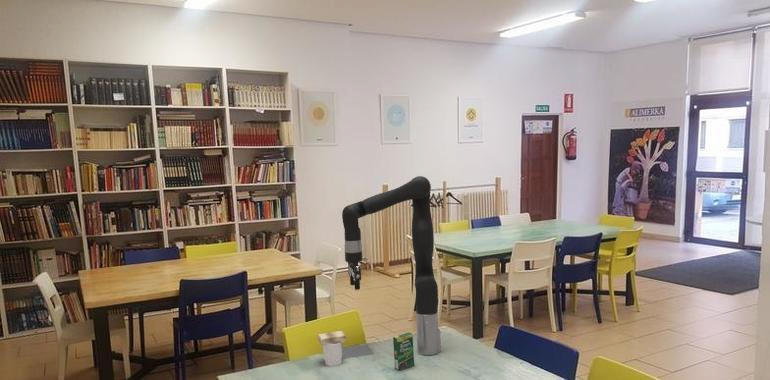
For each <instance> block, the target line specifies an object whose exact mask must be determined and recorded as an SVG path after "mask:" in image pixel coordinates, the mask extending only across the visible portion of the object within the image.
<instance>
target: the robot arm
mask: <svg viewBox="0 0 770 380" xmlns="http://www.w3.org/2000/svg"><path fill="white" fill-rule="evenodd" d="M430 182H431V181H429V179H428V178H427V177H425V176H421V175H418V176H415V177H413V178H411V180H409V181H407V182H406V183H404V184H402V185H400V186H399V187H396V188H394V189H391V190H388V191H384V192H381V193H378V194H375V195H373V196H369V197H367V198H365V199H363V200H361V201H357V202H353V203H350V204H349V205H346V206H345V207H343V209H342V213H341V216H342V217H341V219H342V225H343V229H344V261H345V262H346V263H347V268H348V269H347V274H348V276H349V284H350V286H354V291H359V290H360V289H361V280H362V269H361V265H359V262H362V261H363V244H362V232H361V227H360V225H359V219H360V218H361V219H362V218H363V217H366V216H368V215H373V214H375V213H378V212H381V211H383V210H386V209H388V208H391V207H392V206H395V205H398V204H401V203H403V202H404V203H405V202H407V201H412V219H411V220H412V221H411V242H412V250H413V256H414V262H415V269H414V270H415V272H414V273H415V274H414V275H415V277H414V288H415V301H416V302H415V316H416V335H417V336H416V337H417V339H416V341H417V342H416V343H417V353H418V354H419V355H423V356H433V355H437V354H439V353H441V352H442V345H441V330H440V328H439V313H438V312H439V309H438V307H439V290H438V289H439V288H438V287H439V286H438V282H437V281H436V279H435V273H434V267H433V256H434V255H433V254H434V247H435V246H434V245H435V241H434V240H435V238H434V236H435V235H434V226H433V219H432V213H431V212H432V211H431V190H432V189H431V188H432V184H431V183H430Z"/></svg>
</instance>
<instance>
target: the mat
mask: <svg viewBox="0 0 770 380" xmlns="http://www.w3.org/2000/svg"><path fill="white" fill-rule="evenodd" d="M370 355H371V356H372V355H375V353H374V351H373V350H372V349H371V348H370V346H369V345H368V344H361V345H353V346H347V347H342V360H346V359H351V358H358V357H365V356H370Z"/></svg>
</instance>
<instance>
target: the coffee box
mask: <svg viewBox="0 0 770 380" xmlns="http://www.w3.org/2000/svg"><path fill="white" fill-rule="evenodd" d="M392 341H393V343H392V344H393V356H394V357H393V358H394V359H393V360H394V370H397V371H398V372H400V371H401V370H405V369H407V368H411V367H413V366H415V355H414V354H415V353H414V350H415V349H414V337H413V333H411V332H405V333H404V334H399V335H396V336H395V335H394V336H393V337H392Z"/></svg>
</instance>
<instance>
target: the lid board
mask: <svg viewBox="0 0 770 380" xmlns="http://www.w3.org/2000/svg"><path fill="white" fill-rule="evenodd" d="M317 336H318V342H319V344H320V346H323V345H328V344H335V343H341V342H342V343H345V342H347V340H346V339H347V337H346V334H345V333H344V332H343V330H338V331H337V330H336V331H331V332H324V333H318V335H317Z"/></svg>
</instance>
